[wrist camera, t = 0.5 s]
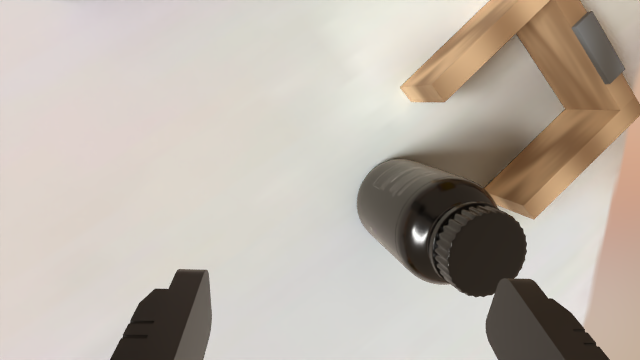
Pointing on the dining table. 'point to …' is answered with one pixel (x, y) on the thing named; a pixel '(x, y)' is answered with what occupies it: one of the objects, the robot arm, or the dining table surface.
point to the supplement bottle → (441, 226)
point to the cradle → (562, 75)
